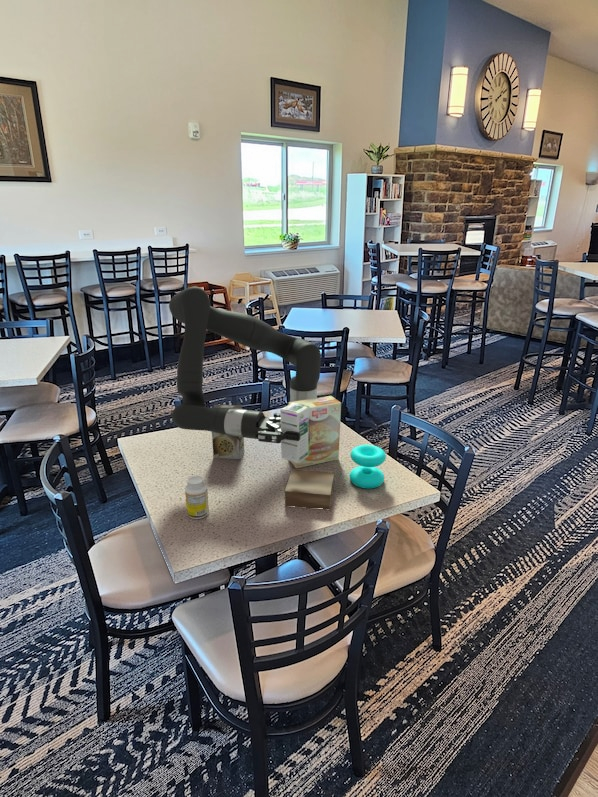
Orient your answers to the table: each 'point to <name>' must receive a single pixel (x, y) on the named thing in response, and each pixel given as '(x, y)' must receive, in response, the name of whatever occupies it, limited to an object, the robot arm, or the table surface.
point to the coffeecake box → (322, 430)
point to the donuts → (367, 466)
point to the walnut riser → (309, 489)
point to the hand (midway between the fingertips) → (303, 430)
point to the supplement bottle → (196, 498)
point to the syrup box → (296, 421)
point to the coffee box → (227, 441)
